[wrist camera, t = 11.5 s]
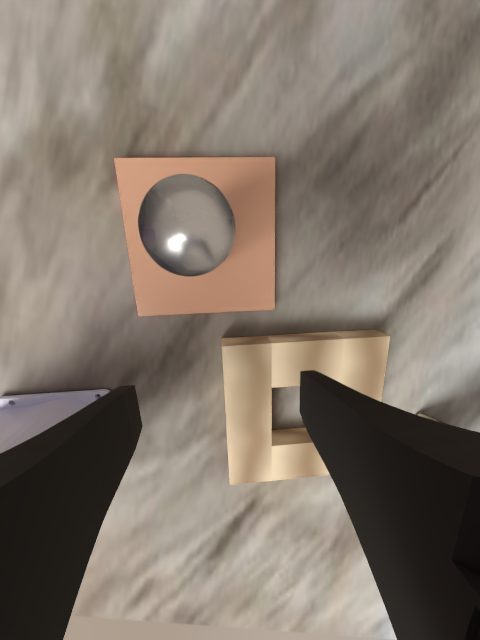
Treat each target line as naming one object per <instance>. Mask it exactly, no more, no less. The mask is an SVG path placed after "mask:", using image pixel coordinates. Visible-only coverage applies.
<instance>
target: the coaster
mask: <svg viewBox="0 0 480 640" xmlns="http://www.w3.org/2000/svg"><path fill="white" fill-rule="evenodd" d="M114 161H115V167H116V174H117V181H118V187H119V194H120V200H121V207H122V213H123V220H124V227H125V233H126V240H127V246H128V253H129V259H130V266H131V273H132V279H133V286H134V292H135V299H136V305H137V312H138V316H157V315H177V314H197V313H216V312H236V311H255V310H275V157H194V158H114ZM177 174H190V175H195V176H198V177H202V178H204V179H206V180H208V181H209V182H211V183H212V184H214V185H215V186H216V187H217V188H218V189H219V190H220V191H221V192H222V193H223V194H224V196H225V197H226V199H227V200H228V202H229V204H230V206H231V208H232V211H233V214H234V219H235V239H234V243H233V246H232V249H231V251H230V253H229V255H228V256H227V258H226V259H225V260H224V261H223V263H222V264H221V265H220V266H218V267H217V268H216V269H214V270H213V271H211V272H209V273H206V274H204V275H200V276H194V277H186V276H180V275H176V274H173V273H171V272H168V271H167V270H165V269H163V268H162V267H160V266H159V265H158V264H157V263H156V262H155V261H154V260H153V259H152V258H151V257H150V256H149V254H148V253H147V251H146V250H145V248H144V246H143V244H142V241H141V238H140V234H139V229H138V215H139V209H140V206H141V203H142V201H143V199H144V197H145V195H146V194H147V192H148V191H149V190H150V189H151V187H152V186H154V185H155V184H156V183H157V182H159V181H160V180H162V179H164V178H166V177H168V176H172V175H177Z"/></svg>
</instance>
